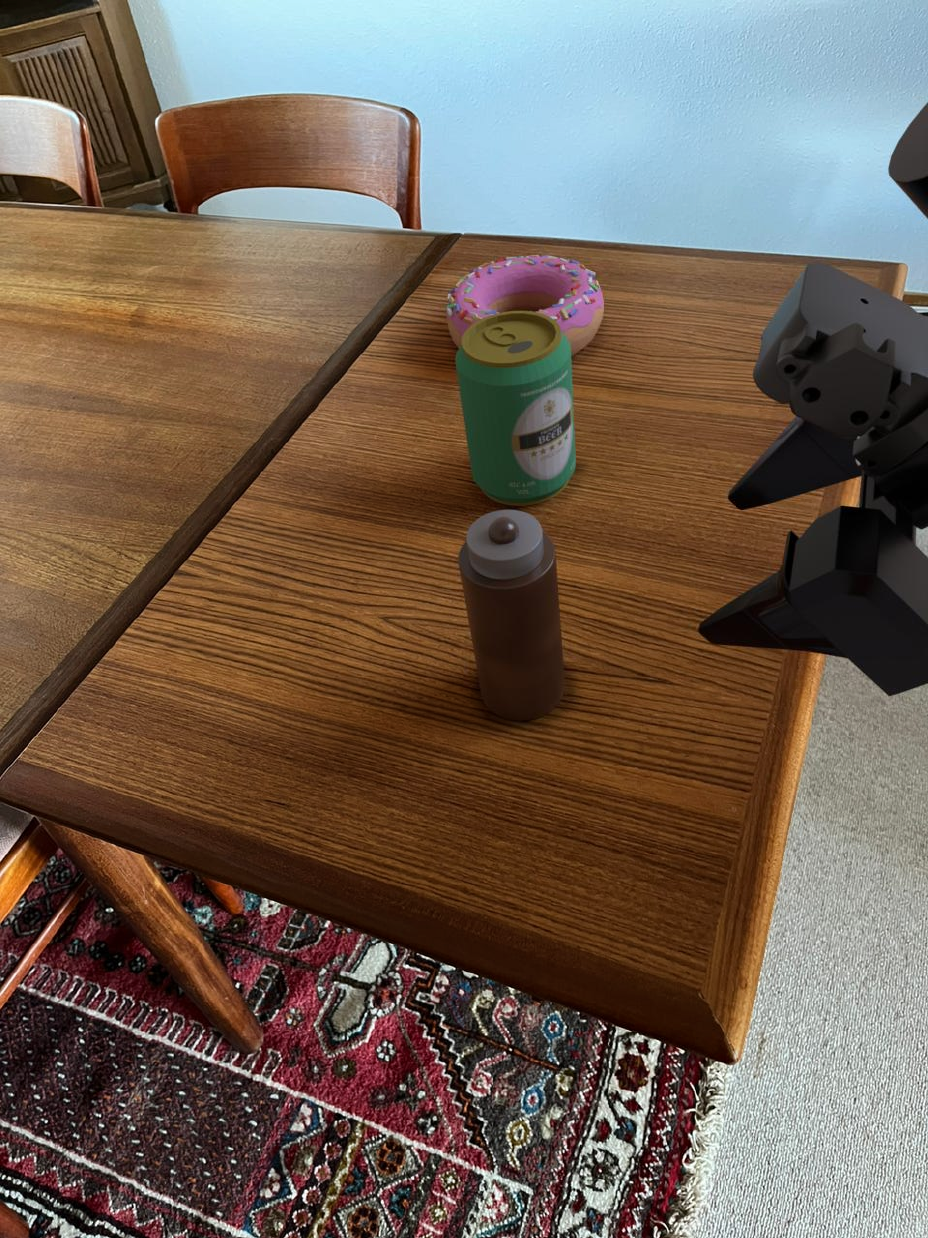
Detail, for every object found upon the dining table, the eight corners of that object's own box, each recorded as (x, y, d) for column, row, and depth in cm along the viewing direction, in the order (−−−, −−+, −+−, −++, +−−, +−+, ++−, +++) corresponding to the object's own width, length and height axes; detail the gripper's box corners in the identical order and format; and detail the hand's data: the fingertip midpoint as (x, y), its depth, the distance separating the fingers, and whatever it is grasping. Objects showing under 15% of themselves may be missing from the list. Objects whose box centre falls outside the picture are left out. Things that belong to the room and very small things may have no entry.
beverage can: (512, 524, 68) (496, 382, 60) (453, 474, 73) (430, 336, 65) (597, 478, 71) (594, 335, 62) (534, 432, 76) (523, 294, 67)
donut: (624, 305, 88) (624, 253, 85) (573, 387, 80) (571, 334, 76) (485, 291, 93) (479, 242, 90) (424, 367, 85) (415, 316, 81)
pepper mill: (544, 645, 60) (529, 477, 50) (579, 703, 56) (569, 534, 47) (469, 672, 59) (438, 507, 49) (499, 732, 56) (472, 567, 46)
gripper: (928, 103, 36) (640, 343, 47) (925, 364, 24) (542, 600, 36) (1089, 302, 39) (783, 482, 51) (1154, 618, 28) (736, 760, 39)
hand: (720, 564), depth 44 cm, fingers open, 9 cm apart
